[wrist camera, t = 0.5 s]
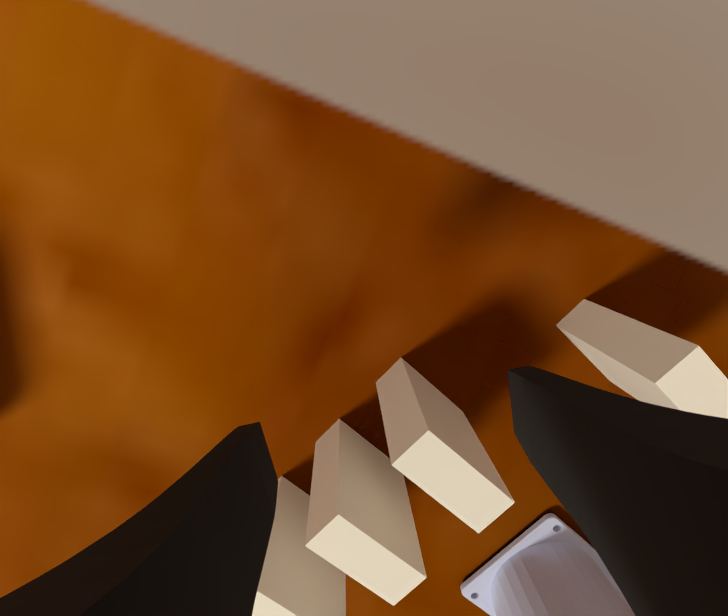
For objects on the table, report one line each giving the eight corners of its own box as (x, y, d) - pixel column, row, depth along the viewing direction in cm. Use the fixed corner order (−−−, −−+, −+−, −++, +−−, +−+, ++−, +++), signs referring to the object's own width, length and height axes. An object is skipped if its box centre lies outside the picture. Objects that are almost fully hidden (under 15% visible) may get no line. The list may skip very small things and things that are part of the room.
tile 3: (401, 468, 23) (426, 577, 16) (378, 489, 24) (393, 605, 17) (339, 418, 22) (338, 514, 15) (315, 442, 22) (304, 545, 16)
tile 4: (462, 411, 22) (514, 502, 16) (437, 434, 23) (478, 533, 16) (401, 357, 21) (428, 429, 15) (375, 382, 22) (391, 464, 15)
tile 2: (344, 521, 24) (346, 646, 17) (323, 541, 24) (316, 671, 18) (281, 475, 23) (256, 590, 16) (259, 497, 23) (226, 618, 16)
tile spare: (637, 356, 22) (767, 425, 15) (610, 380, 22) (725, 458, 16) (584, 299, 21) (698, 345, 14) (555, 325, 21) (655, 383, 15)
